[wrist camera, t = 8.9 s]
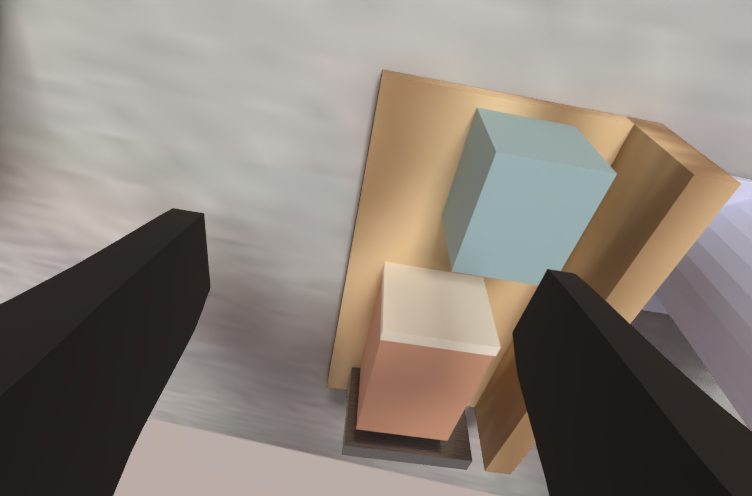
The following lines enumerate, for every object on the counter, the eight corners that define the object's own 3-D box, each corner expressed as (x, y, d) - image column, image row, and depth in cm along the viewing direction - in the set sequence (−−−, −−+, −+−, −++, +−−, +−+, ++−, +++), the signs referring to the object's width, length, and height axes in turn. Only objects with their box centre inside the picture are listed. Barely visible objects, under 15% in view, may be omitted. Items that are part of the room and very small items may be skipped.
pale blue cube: (575, 126, 17) (617, 173, 14) (526, 228, 20) (551, 287, 17) (476, 107, 16) (496, 151, 13) (442, 214, 19) (451, 271, 16)
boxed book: (483, 277, 22) (500, 347, 18) (441, 372, 27) (448, 442, 23) (384, 261, 21) (382, 330, 18) (360, 361, 26) (355, 430, 23)
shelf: (662, 123, 17) (741, 183, 13) (495, 399, 29) (510, 474, 26) (382, 69, 16) (379, 116, 13) (328, 377, 29) (317, 450, 25)
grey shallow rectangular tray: (460, 382, 27) (472, 461, 23) (449, 404, 29) (458, 481, 25) (351, 367, 27) (344, 445, 23) (346, 390, 28) (338, 467, 24)
